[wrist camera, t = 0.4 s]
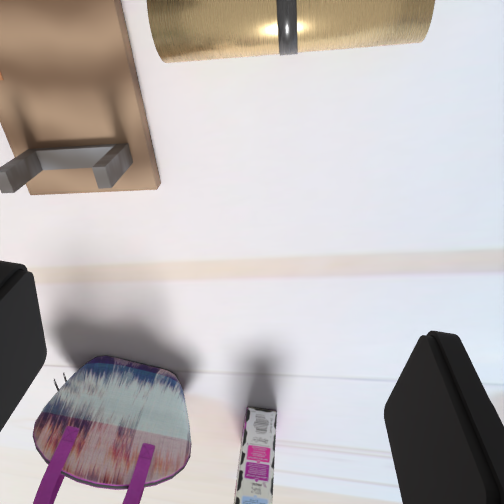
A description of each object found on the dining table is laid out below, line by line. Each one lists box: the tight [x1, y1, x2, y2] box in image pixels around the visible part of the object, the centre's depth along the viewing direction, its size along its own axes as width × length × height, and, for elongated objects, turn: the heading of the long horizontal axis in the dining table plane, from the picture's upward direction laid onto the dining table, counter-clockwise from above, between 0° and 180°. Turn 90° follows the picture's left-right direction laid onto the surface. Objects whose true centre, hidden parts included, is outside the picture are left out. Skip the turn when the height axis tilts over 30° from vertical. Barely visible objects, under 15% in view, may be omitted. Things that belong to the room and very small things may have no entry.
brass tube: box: [147, 0, 435, 63], centre depth 32 cm, size 20×6×6 cm, turn 95°
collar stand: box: [0, 0, 161, 195], centre depth 35 cm, size 24×14×8 cm, turn 5°
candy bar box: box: [234, 407, 277, 504], centre depth 60 cm, size 11×5×16 cm, turn 175°
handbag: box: [33, 356, 191, 504], centre depth 53 cm, size 21×10×25 cm, turn 75°
